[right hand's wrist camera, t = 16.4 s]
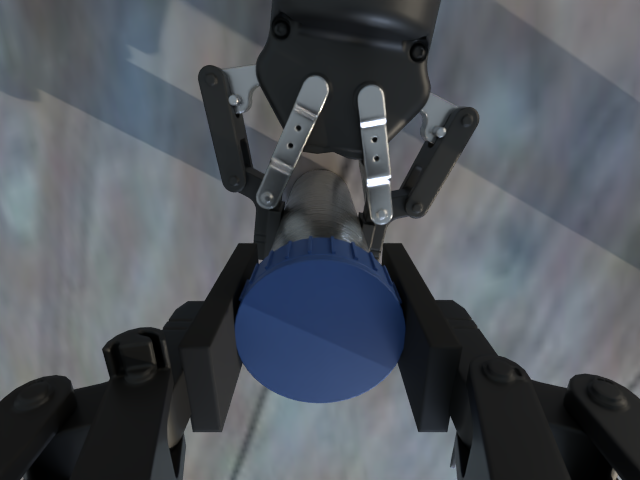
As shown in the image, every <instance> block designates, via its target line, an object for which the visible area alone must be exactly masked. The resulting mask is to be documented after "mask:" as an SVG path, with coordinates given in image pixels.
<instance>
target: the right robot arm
mask: <svg viewBox="0 0 640 480" xmlns="http://www.w3.org/2000/svg"><path fill="white" fill-rule="evenodd" d="M257 263H258V249H257V243H239V244H238V245H237V247H236V249H235V250H234V252H233V254H232V255H231V257H230V259H229V261H228V262H227V264H226V266H225V267H224V269H223V271H222V272H221V274H220V276H219V277H218V279H217V281H216V283H215V284H214V286H213V288H212V289H211V291H210V293H209V294H208V296H207V298H206V300H205V301H188V302H186V303H185V304H183V305H182V306H180V307H179V308H178V309H176V310H175V312H174V313H173V314H172V316H171V317H170V319H169V322H167V323H166V324H165V326H164V327H163V330H160V329H156V328H152V327H144V328H137V329H132V330H128V331H126V332H124V333H121V334H119V335H117V336H116V337H114V338H113V339H111V340H110V341H108V342H107V344H106V345H105V346H104V347H103V349H102V351H103V354H104V358H105V361H106V365H107V369H108V372H109V376H110V380H109V381H108V382H104V383H101V384H97V385H92V386H88V387H83V388H79V389H73V386H72V383H71V381H70V380H69V379H68V378H67V377H65V376H58V375H53V376H46V377H42V378H38V379H35V380H33V381H30V382H28V383H26V384H24V385H22V386H20V387H18V388H16V389H15V390H14V391H12V392H11V393H10V394H8V395H7V396H6V397H5V398H3V399H2V400H1V401H0V480H20V479H21V478H22V477H23V478H24V479H23V480H183V470H184V460H185V450H186V444H185V437H184V430H185V428H186V426H187V423H188V421H189V418H191V424H192V429H193V432H222V430H223V426H224V423H225V420H226V416H227V413H228V410H229V406H230V403H231V400H232V396H233V393H234V390H235V386H236V383H237V380H238V376H239V373H240V370H241V366H242V363H243V362H242V360H241V358H240V356H239V354H238V351H237V347H236V338H235V328H234V323H235V317H236V314H237V310H238V307H239V305H240V303H241V301H239V298H240V295H241V293H242V291H243V288H244V286H245V284H246V281H247V279H249V280H250V278H251V275H252V273H253V270H254V268H255V266H256V264H257ZM384 265H385V267H386V269H387V271H388V273H389V276H390V278H391V281H392V282H393V281H394V284H395V286H396V288H397V291H398V293H399V296H400V298H401V300H402V304H400V305H401V308H402V310H403V314H404V317H405V323H406V330H405V340H404V348H403V351H402V354H401V356H400V358H399V360H398V366H399V369H400V372H401V376H402V379H403V382H404V386H405V389H406V392H407V396H408V399H409V402H410V406H411V409H412V412H413V416H414V419H415V422H416V426H417V429H418V432H447V431H448V425H449V419H450V416H451V418H452V421H453V423H454V426H455V428H456V430H457V432H456V437H455V442H454V448H453V453H452V458H451V464H450V467H451V468H455V464H456V469H457V479H458V480H618V478H617V476H618V475H619V476H620V478H621V479H622V480H640V399H639V398H638V397H637V396H636V395H634V394H633V393H632V392H631V391H629V390H628V389H627V388H625V387H624V386H622V385H620V384H618V383H616V382H614V381H612V380H610V379H607V378H604V377H600V376H597V375H590V374H579V375H575V376H574V377H572V378H571V379H570V381H569V384H568V387H567V388H563V387H559V386H554V385H550V384H545V383H541V382H537V381H534V380H531V379H530V377H529V376H528V374H527V373H526V371H525V370H524V369H523V368H522V367H520V366H519V365H518V364H517V363H515V362H513V361H511V360H509V359H507V358H505V357H501V356H498V355H497V353H496V352H495V351H494V349H493V348H492V346H491V345H490V344H489V342H488V341H487V339H486V338H485V337H484V335H483V334H482V332H481V331H480V330H479V329H478V328H477V325H476V324H475V323H474V321H473V320H472V318H471V317H470V315H469V314H468V313H467V311H466V310H465V309H464V308H463V307H462V306H460V305H459V304H457V303H456V302H454V301H453V300H435V299H434V297H433V296H432V294H431V292H430V291H429V289H428V287H427V286H426V284H425V282H424V280H423V279H422V277H421V275H420V274H419V272H418V270H417V269H416V267H415V265H414V264H413V262H412V260H411V258H410V257H409V255H408V253H407V252H406V250H405V248H404V247H403V245H402V243H383V252H382V266H384Z"/></svg>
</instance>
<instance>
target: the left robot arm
mask: <svg viewBox="0 0 640 480" xmlns="http://www.w3.org/2000/svg"><path fill="white" fill-rule="evenodd" d="M440 2H441V0H272V11H271V23H270V32H269V37H268V40H267V42H266V45H265V47H264V49H263V50H262V52H261V53H260V55H259V57H258V59H257V62H256V64H253V65H247V66H240V67H233V68H226V69H221V68H218V67H215V66H212V65H207V66H204V67H203V68H202V69H201V70H200V72H199V75H198V81H199V85H200V90H201V94H202V98H203V102H204V107H205V111H206V115H207V119H208V123H209V128H210V132H211V136H212V140H213V145H214V149H215V153H216V157H217V162H218V166H219V170H220V174H221V179H222V183H223V185H224V187H225V188H226V189H227V190H228V191H230V192H239V193H241V194H243V195H245V196H247V197H249V198H250V199H251V200H252V201H253V202H254V204H255V206H256V220H255V232H254V243H257V249H258V259H260V260H264V259H265V258H266V257H267V256H268V255H269V252H270V251H271V249H272V246H273V243H274V240H275V237H276V234H277V231H278V228H279V225H280V222H281V219H282V216H283V213H284V207H285V202H284V201H282V193H283V191H284V189H285V187H286V185H287V183H288V180H289V178H290V176H291V174H292V172H293V170H294V168H295V166H296V163H297V161H298V159H299V157H300V155H301V153H302V152H309V153H316V154H319V153H327V152H335V153H337V154H339V155H342V156H344V157H346V158H349V159H356V160H359V167H360V173H361V177H362V185H363V193H364V201H365V206H364V211H363V213H360V212H359V215H358V219H359V222H360V225H361V228H362V231H363V234H364V237H365V240H366V243H367V246H368V249H369V252H372V253H373V256H374V258H375V259H376V260H377V261H378V262H379V258H380V254H381V250H382V246H383V241H384V237H385V232H386V228H387V226H388V225H389V223H390V222H392V221H393V220H395V219H398V218H403V217H408V216H410V217H411V218H421V217H423V216H424V215H425V214H426V213H427V211H428V210H429V208H430V206H431V204H432V203H433V201H434V199H435V198H436V196H437V194H438V192H439V191H440V189H441V187H442V186H443V184H444V182H445V180H446V179H447V177H448V175H449V173H450V172H451V170H452V168H453V167H454V165H455V163H456V161H457V160H458V158H459V156H460V155H461V153H462V151H463V149H464V148H465V146H466V144H467V143H468V141H469V139H470V137H471V136H472V134H473V132H474V130H475V129H476V127H477V125H478V123H479V114H478V112H477V111H476V110H475V109H474V108H471V107H464V106H456V105H454V104H452V103H450V102H448V101H447V100H445V99H443V98H441V97H439V96H437V95H435V94H433V93H431V92H430V90H431V87H430V81H429V77H428V72H427V58H428V53H429V49H430V45H431V41H432V36H433V32H434V28H435V23H436V19H437V15H438V10H439V6H440ZM259 86H260V87H261V88H262V90H263V92H264V94H265V96H266V98H267V100H268V102H269V103H270V105H271V107H272V109H273V111H274V113H275V115H276V116H277V118H278V120H279V122H280V124H281V126H282V128H283V129H284V130H283V132H282V135H281V137H280V139H279V142H278V144H277V146H276V149H275V151H274V153H273V156H272V158H271V161H270V164H269V166H268V169H267V171H266V173H265V174H263V173H261V172H259V171H258V170H256V169H254V168H253V165H252V160H251V155H250V150H249V145H248V140H247V135H246V130H245V125H244V120H243V115H242V113H245V112H247V111H248V110H249V109H250V108H251V105H252V94H253V92H254V90H255V89H256V88H257V87H259ZM419 112H420V113H421V115H422V118H423V123H422V126H421V129H420V134H421V137H422V138H423V139H424V140H425V142H424V144H423V146H422V148H421V150H420V152H419V154H418V155H417V157H416V159H415V161H414V163H413V165H412V167H411V168H410V170H409V172H408V174H407V176H406V178H405V180H404V182H403V183H402V185H401V187H400V189H399V190H395V191H391V187H390V180H391V170H390V160H389V149H388V142H389V141H390V140H391V139H392V138H393V137H395V136H396V135H397V134H398V133H399V132H400V131H401V130H402V129H403V128H404V127H405V126H406V125H407V124H408V123H409V122H410V121H411V120H412V119H413V118H414V117H415V116H416V115H417V114H418V113H419Z"/></svg>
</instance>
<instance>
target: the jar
mask: <svg viewBox="0 0 640 480" xmlns="http://www.w3.org/2000/svg"><path fill="white" fill-rule="evenodd" d="M309 236H312V237H313V238H321V237H322V238H331V236H334V239H338V240H343V241H346V242H349V243H351V242H355V245H356V246H358V247H360V248H362V249H363V250H365V251H366V252H368V253H369V249H368V246H367V243H366V240H365V237H364V234H363V231H362V228H361V225H360V222H359V219H358V216H357V213H356V210H355V207H354V204H353V201H352V198H351V195H350V192H349V190H348V187H347V185H346V183H345V182H344V180H343V179H342V178H341V177H340V176H338V175H337V174H335V173H333V172H331V171H328V170H321V169H318V170H312V171H309V172H307V173H305V174H303V175H302V176H300V177H299V178H298V179H297V181H296V182H295V183H294V185H293V187H292V190H291V193H290V196H289V198H288V201H287V204H286V207H285V210H284V213H283V216H282V219H281V222H280V225H279V228H278V231H277V234H276V237H275V240H274V243H273V246H272V249H271V250H273V251H275V250H277V249H278V248H280V247H282V246H284V245H286V244H288V241H290V240H291V241H292V242H294V241H298V240H302V239H308V238H309Z"/></svg>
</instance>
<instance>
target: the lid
mask: <svg viewBox="0 0 640 480" xmlns="http://www.w3.org/2000/svg"><path fill="white" fill-rule="evenodd" d="M239 301H241V303H240V305H239V307H238V310H237V314H236V317H235V323H234V328H235V338H236V347H237V351H238V354H239V356H240V358H241V360H242V362H243V364H244V365H245V367H246V368H247V370H248V371H249V372H250V373H251V375H252V376H253V377H254V378H255V379H256V380H258V381H259V382H260V383H261V384H262V385H264V386H265V387H267V388H268V389H270V390H271V391H273V392H275V393H277V394H279V395H282V396H284V397H287V398H290V399H293V400H297V401H302V402H309V403H331V402H338V401H343V400H347V399H350V398H353V397H356V396H359V395H361V394H363V393H365V392H367V391H369V390H370V389H372V388H373V387H375V386H376V385H378V384H379V383H380V382H381V381H383V380H384V379H385V378H386V377H387V376H388V375H389V374H390V372H391V371H392V370H393V368H394V367H395V366H396V364H397V362H398V360H399V358H400V356H401V354H402V351H403V348H404V340H405V330H406V323H405V317H404V314H403V310H402V308H401V305H400V304H402V300H401V298H400V296H399V293H398V291H397V288H396V286H395V284H394V281H393V282H392V281H391V278H390V276H389V273H388V271H387V269H386V267H385V265H384V266H382V265H381V264H380V263H379V262H378V261H377V260H376V259H375V258H374V256H373V253H372V252H369V253H368V252H366V251H365V250H363V249H362V248H360V247H358V246H356V245H355V242H351V243H349V242H346V241H343V240H338V239H334V236H331V238H322V237H321V238H313V237H312V236H309V238H308V239H302V240H298V241H294V242H292V241H291V240H290V241H288V244H286V245H284V246H282V247H280V248H278V249H277V250H275V251H273V250H271V251H270V252H269V255H268V256H267V257H266V258H265V259H264V260H263V261H262V262H261V263H260V264H258V263H257V264H256V266H255V268H254V270H253V273H252V275H251V278H250V280H249V279H247V281H246V284H245V286H244V288H243V291H242V293H241V295H240V298H239Z"/></svg>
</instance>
